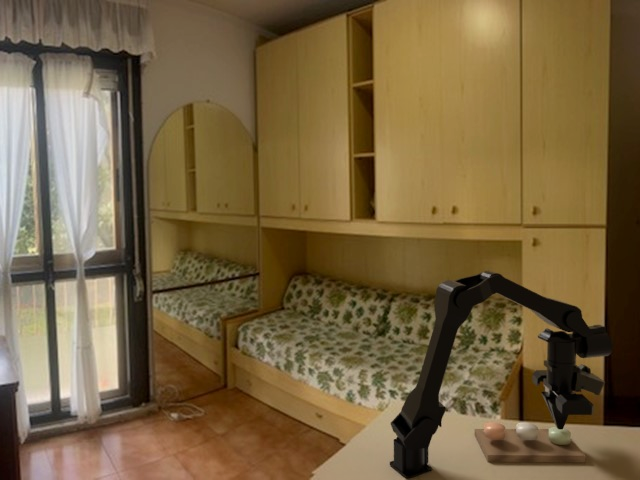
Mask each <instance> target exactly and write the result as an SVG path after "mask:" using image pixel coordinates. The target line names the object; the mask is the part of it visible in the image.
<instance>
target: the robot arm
mask: <svg viewBox="0 0 640 480" xmlns="http://www.w3.org/2000/svg"><path fill="white" fill-rule="evenodd" d="M495 294H496V295H499V296H501V297H503V298H504V299H507V300H509V301H511V302H513V303H516V304H517V305H519V306H522V307H523V308H526V309H527V310H530V312H533V313H534V314H535V315H536V317H538V318H539V319H541V320H542V321H543V322H545V323H546V324H547V325H550V326H551V327H554V328H556V329H559V330H556V331H554V330H552V329H549V328H548V327H547V328H545V329H544V330H543V331H542V332H540V333H539V334H538V335H537V338H538V339H540V340H542V341H544V342H546V343H547V346H546V349H547V350H546V360H543V366H544V367H545V368H546V369H543V370H542V369H536V370H535V371H533V373H532V375H531V376H532V379H531V380H532V383H533V384H534V385H535V386H540V384H541V382H542V383H543V387H544V391H541V396H542V397H543V399H544V402H545V404H546V407H547V408H548V411H549V413H550V415H551V418H552V419H553V423H554V425H555V427H557V428H558V429H563V428H565V425H566V422H567V420H568V418H569V415H570V416H573V415H574V416H580V415H581V416H593V414H594V408H595V406H594V403H593V402H591V400H589V399H588V398H587V397H586V396H585V395H584V394H582V390H584V391H586V392H590V393H592V394H594V395H595V396H597V397H599V396H600V395H601V393H602V390H603V388H604V386H605V384H606V382H605V381H604V380H603V379H601V378H600V377H599V376H598V375H595V374H594V373H593V372H592V373H591V368H590V367H589V366H587V365H585V364H583V363H580V364H579V365H577V356H578V357H579V358H582V359H592V358H600V357H602V358H603V357H609V356H610V355H611V354H612V352H613V349H614V344H613V342H612V339H611V336H610V335H609V334H608V332H607V327H606V326H604V325H601V324H593V325H588V324H587V323H586V320H584V318H583V314H582V313H583V311H582V310H581V308H579V307H578V306H576V305H573V304H570V303H567V302H565V301H561V300H558V299H555V298H550V297H547V296H543V295H541V294H539V293H536V292H535V291H532V290H531V289H529V288H527V287H525V286H523V285H522V284H521V285H520V284H519V283H516V282H514V281H512V280H511V279H509V278H507V277H504V276H503V274H501V273H498V272H496V271H495V272H494V271H493V270H492V271H490V270H485V271H482V272H480V273H477V274H473V275H470V276H465V277H460V278H458V279H455V280H450V279H448V280H445V281H442V282H441V283H440V284H439V285H438V286H437V288H436V290H435V297H434V317H435V322H434V326H433V329H432V332H431V336H430V339H429V343H428V346H427V349H426V353H425V356H424V360H423V364H422V367H421V369H420V370H421V371H420V374H419V377H418V381H417V384H416V386H415V387H414V388H413V389H412V390H411V391H410V393H408V394H407V396H406V398H405V401H404V402H403V405H402V407H401V411H400V412H399V413H398V414H397V415H396V416H395V418H394V419H393V420H392V421H391V422H390V426H391V429H392V432H394V434H395V435H396V436H397V437H396V438H393V460H391V461H389V466H391V467H392V468H393V469H394V470H395V471H397V472H398V473H400V474H401V475H402V476H403V477H404V478H405V479H410V478H414V477H417V476H420V475H423V474H426V473H428V472H431V471H432V470H433V467H431V465H429V447H430V444H431V441H432V438H433V435H435V434H436V433H437V431H438V428H439V427H440V428H442V420H443V417H444V415H445V413H446V410H447V408H446V406H445V405H444V404H443V403H442V402H441V401H440V391H441V387H442V386H443V381H444V378H445V374H446V371H447V369H448V364H449V360H450V358H451V355H452V352H453V348H454V344H455V341H456V337H457V334H458V331H459V328H461V326H462V325H463V324H464V323H465V322H466V321H467V320H468V318H469V316H470V314H471V313H472V310H473V309H474V307H475V306H477V305H479V304H481V303H483V302H485V301H487V300H488V299H489V298H490V297H492V295H495Z"/></svg>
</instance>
